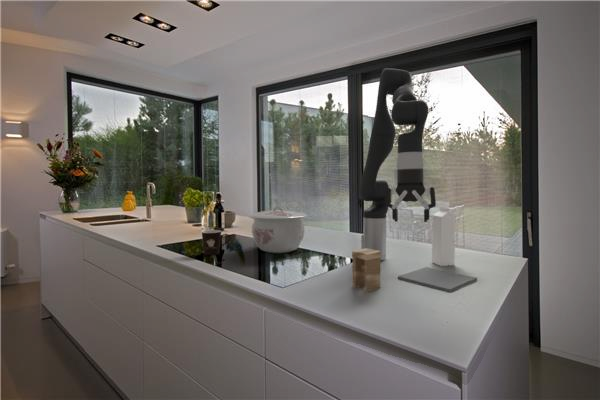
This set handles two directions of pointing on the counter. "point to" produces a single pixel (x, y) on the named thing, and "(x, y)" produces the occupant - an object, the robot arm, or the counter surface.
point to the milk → (443, 238)
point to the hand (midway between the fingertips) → (410, 221)
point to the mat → (438, 279)
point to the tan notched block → (366, 268)
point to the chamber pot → (278, 230)
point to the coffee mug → (212, 241)
